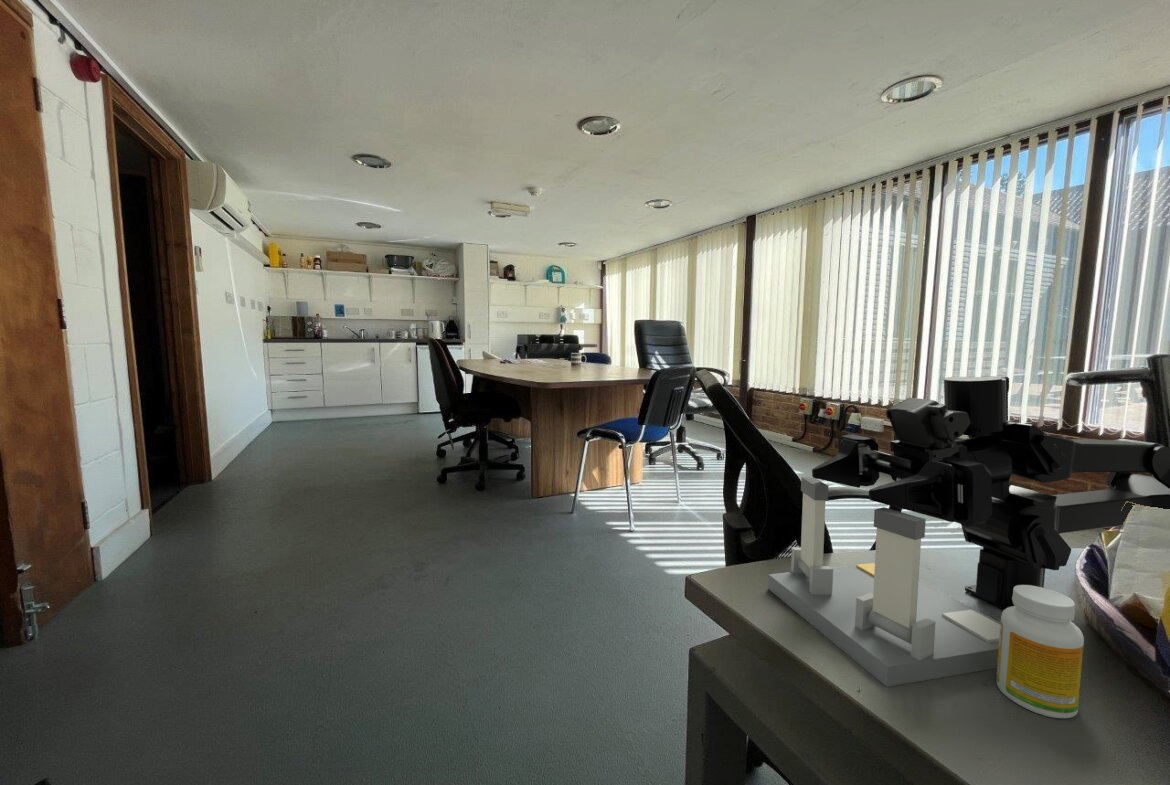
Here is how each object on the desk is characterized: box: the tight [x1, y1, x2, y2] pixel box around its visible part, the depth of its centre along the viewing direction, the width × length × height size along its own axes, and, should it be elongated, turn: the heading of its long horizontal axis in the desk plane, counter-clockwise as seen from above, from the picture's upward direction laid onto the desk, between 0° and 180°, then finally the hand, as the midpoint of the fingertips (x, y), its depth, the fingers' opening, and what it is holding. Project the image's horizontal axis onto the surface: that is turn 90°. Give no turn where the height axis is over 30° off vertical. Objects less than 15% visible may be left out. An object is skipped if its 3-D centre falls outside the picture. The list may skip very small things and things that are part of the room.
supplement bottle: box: [996, 585, 1085, 719], centre depth 43 cm, size 5×5×10 cm
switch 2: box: [868, 507, 927, 644], centre depth 48 cm, size 2×4×12 cm, turn 27°
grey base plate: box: [768, 546, 1001, 688], centre depth 56 cm, size 18×19×5 cm
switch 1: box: [797, 476, 829, 579], centre depth 60 cm, size 2×4×12 cm, turn 178°
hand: (839, 483), depth 54 cm, fingers open, 9 cm apart
